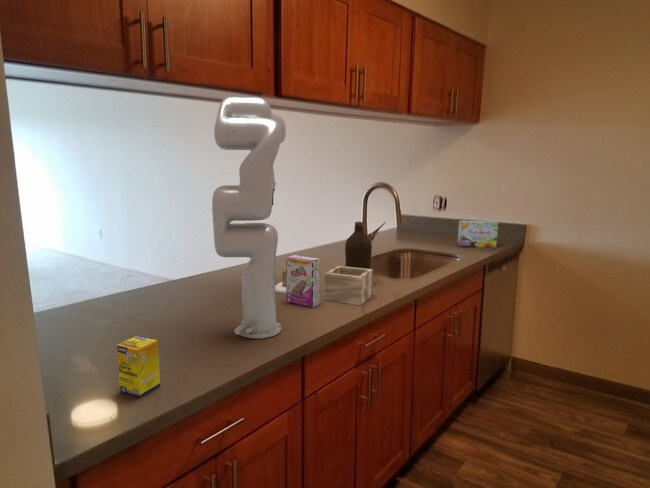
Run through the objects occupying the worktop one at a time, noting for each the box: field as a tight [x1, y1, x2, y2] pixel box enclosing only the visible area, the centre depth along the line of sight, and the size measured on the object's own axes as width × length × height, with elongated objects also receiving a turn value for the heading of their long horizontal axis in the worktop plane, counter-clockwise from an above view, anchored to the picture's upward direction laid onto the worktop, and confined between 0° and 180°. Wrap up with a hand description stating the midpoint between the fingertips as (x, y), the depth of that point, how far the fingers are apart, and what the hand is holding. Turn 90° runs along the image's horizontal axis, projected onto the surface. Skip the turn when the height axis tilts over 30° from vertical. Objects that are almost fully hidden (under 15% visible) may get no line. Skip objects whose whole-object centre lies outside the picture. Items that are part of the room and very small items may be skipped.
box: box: [324, 265, 374, 306], centre depth 164 cm, size 12×13×10 cm
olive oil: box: [344, 221, 373, 269], centre depth 182 cm, size 11×11×25 cm
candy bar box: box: [285, 254, 321, 309], centre depth 156 cm, size 11×5×16 cm, turn 59°
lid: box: [275, 269, 286, 294], centre depth 176 cm, size 14×15×7 cm
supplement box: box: [116, 335, 161, 399], centre depth 98 cm, size 6×6×11 cm
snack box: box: [456, 220, 499, 248], centre depth 263 cm, size 21×6×15 cm, turn 90°
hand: (262, 206), depth 167 cm, fingers open, 9 cm apart
